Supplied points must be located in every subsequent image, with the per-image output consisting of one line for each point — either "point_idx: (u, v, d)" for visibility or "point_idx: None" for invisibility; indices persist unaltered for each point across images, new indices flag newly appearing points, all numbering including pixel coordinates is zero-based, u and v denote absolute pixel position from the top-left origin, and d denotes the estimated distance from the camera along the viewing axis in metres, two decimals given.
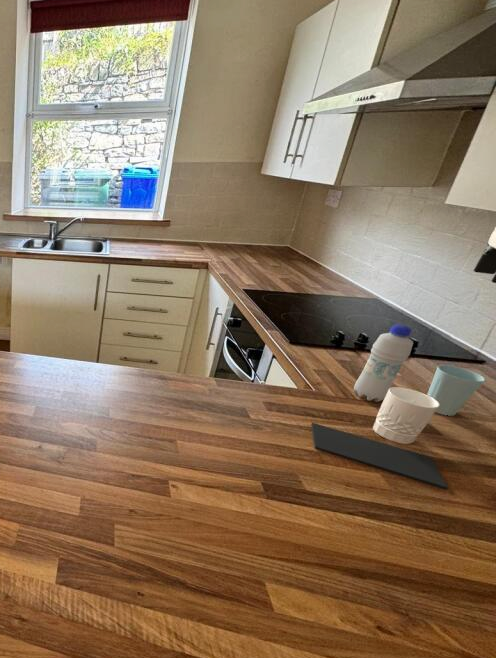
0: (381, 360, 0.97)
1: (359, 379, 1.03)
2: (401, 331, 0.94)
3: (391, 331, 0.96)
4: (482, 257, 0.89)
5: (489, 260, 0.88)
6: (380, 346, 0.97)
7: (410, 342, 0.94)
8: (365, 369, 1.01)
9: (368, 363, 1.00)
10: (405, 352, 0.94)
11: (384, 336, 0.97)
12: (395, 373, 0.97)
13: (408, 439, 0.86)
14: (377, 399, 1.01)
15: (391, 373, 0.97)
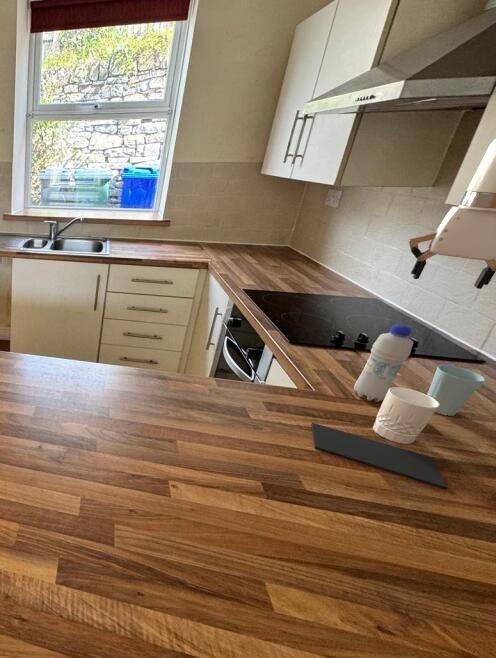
0: (381, 360, 0.97)
1: (359, 379, 1.03)
2: (401, 331, 0.94)
3: (391, 331, 0.96)
4: (424, 265, 0.89)
5: None
6: (380, 346, 0.97)
7: (410, 342, 0.94)
8: (365, 369, 1.01)
9: (368, 363, 1.00)
10: (405, 352, 0.94)
11: (384, 336, 0.97)
12: (395, 373, 0.97)
13: (408, 439, 0.86)
14: (377, 399, 1.01)
15: (391, 373, 0.97)
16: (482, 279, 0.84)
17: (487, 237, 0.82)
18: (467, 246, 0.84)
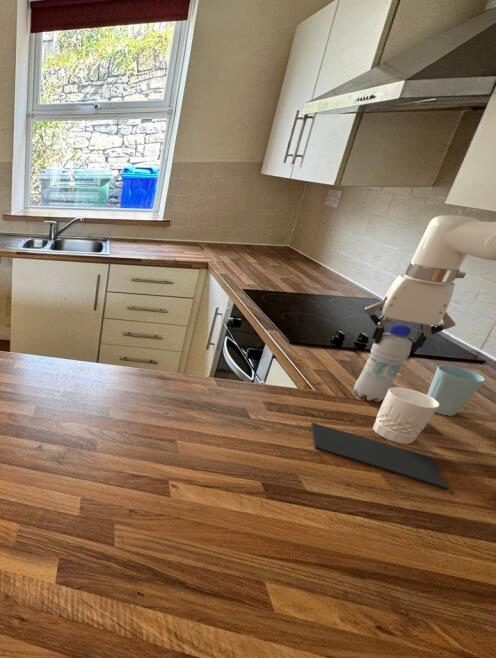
0: (381, 360, 0.97)
1: (359, 379, 1.03)
2: (401, 331, 0.94)
3: (391, 331, 0.96)
4: (383, 331, 0.96)
5: None
6: (380, 346, 0.97)
7: (410, 342, 0.94)
8: (365, 369, 1.01)
9: (368, 363, 1.00)
10: (405, 352, 0.94)
11: (384, 336, 0.97)
12: (395, 373, 0.97)
13: (408, 439, 0.86)
14: (377, 399, 1.01)
15: (391, 373, 0.97)
16: (416, 343, 0.94)
17: (430, 305, 0.90)
18: (414, 313, 0.91)
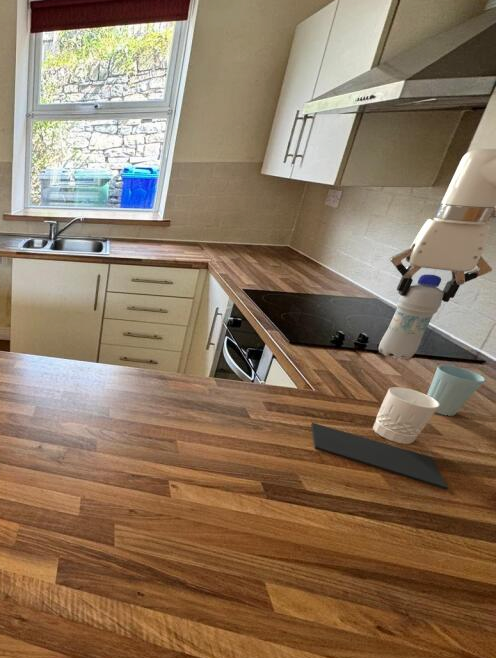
0: (409, 313, 0.90)
1: (384, 337, 0.96)
2: (430, 280, 0.88)
3: (419, 281, 0.89)
4: (411, 282, 0.89)
5: None
6: (408, 298, 0.90)
7: (441, 292, 0.87)
8: (391, 325, 0.94)
9: (394, 318, 0.94)
10: (436, 303, 0.87)
11: (412, 287, 0.90)
12: (424, 327, 0.90)
13: (408, 439, 0.86)
14: (405, 357, 0.94)
15: (420, 327, 0.90)
16: (448, 292, 0.87)
17: (463, 249, 0.83)
18: (445, 259, 0.85)
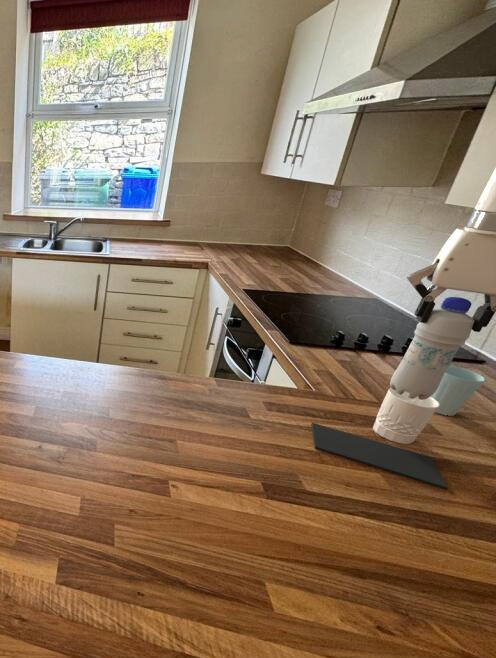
0: (430, 344, 0.73)
1: (398, 370, 0.79)
2: (458, 305, 0.70)
3: (443, 305, 0.72)
4: (433, 306, 0.72)
5: None
6: (428, 325, 0.73)
7: (471, 319, 0.70)
8: (406, 357, 0.77)
9: (411, 349, 0.76)
10: (464, 333, 0.70)
11: (434, 312, 0.73)
12: (449, 362, 0.73)
13: (408, 439, 0.86)
14: (423, 396, 0.76)
15: (443, 362, 0.73)
16: (480, 321, 0.69)
17: None
18: (478, 279, 0.67)
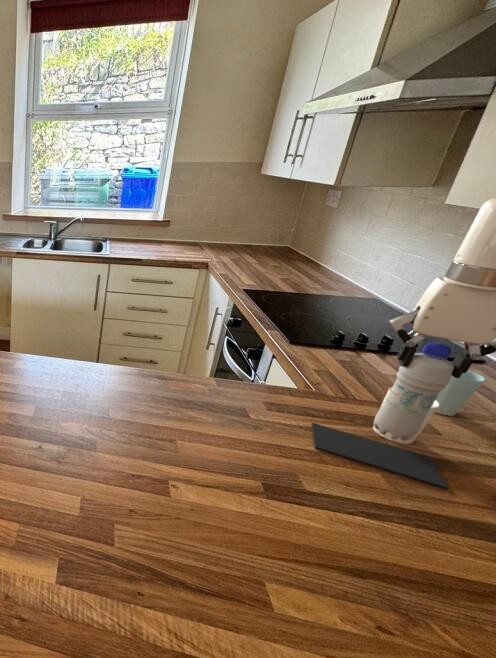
0: (411, 388, 0.75)
1: (381, 411, 0.80)
2: (438, 351, 0.72)
3: (424, 351, 0.73)
4: (414, 351, 0.73)
5: None
6: (410, 370, 0.74)
7: (450, 366, 0.71)
8: (389, 399, 0.78)
9: (393, 391, 0.78)
10: (444, 379, 0.72)
11: (415, 357, 0.74)
12: (429, 405, 0.75)
13: None
14: (405, 438, 0.78)
15: (424, 406, 0.74)
16: (460, 368, 0.71)
17: (480, 318, 0.67)
18: (457, 328, 0.69)
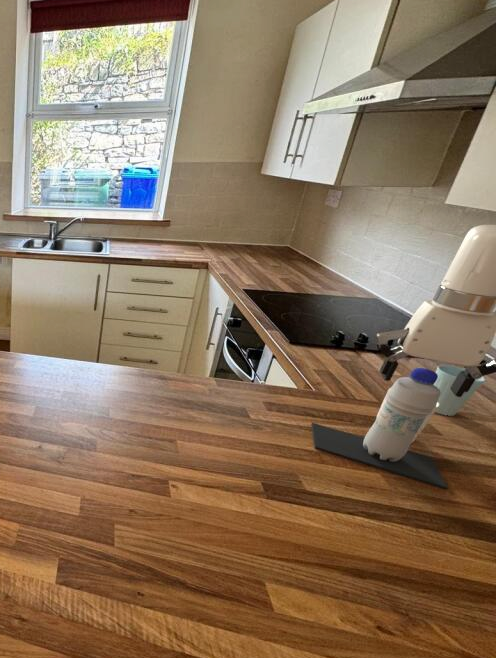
0: (399, 412, 0.77)
1: (370, 432, 0.82)
2: (425, 377, 0.74)
3: (412, 376, 0.76)
4: (396, 366, 0.76)
5: None
6: (398, 394, 0.76)
7: (437, 391, 0.74)
8: (378, 421, 0.81)
9: (382, 414, 0.80)
10: (430, 404, 0.74)
11: (403, 381, 0.76)
12: (417, 428, 0.77)
13: None
14: (393, 459, 0.80)
15: (411, 429, 0.77)
16: (462, 387, 0.72)
17: (467, 341, 0.69)
18: (445, 351, 0.71)
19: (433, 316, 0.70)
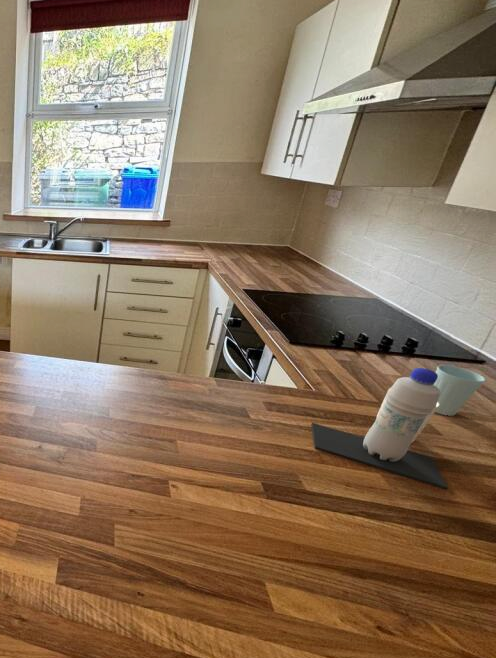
0: (399, 412, 0.77)
1: (370, 432, 0.82)
2: (425, 377, 0.74)
3: (412, 376, 0.76)
4: None
5: None
6: (398, 394, 0.76)
7: (437, 391, 0.74)
8: (378, 421, 0.81)
9: (382, 414, 0.80)
10: (430, 404, 0.74)
11: (403, 381, 0.76)
12: (417, 428, 0.77)
13: None
14: (393, 459, 0.80)
15: (411, 429, 0.77)
16: None
17: None
18: None
19: None
